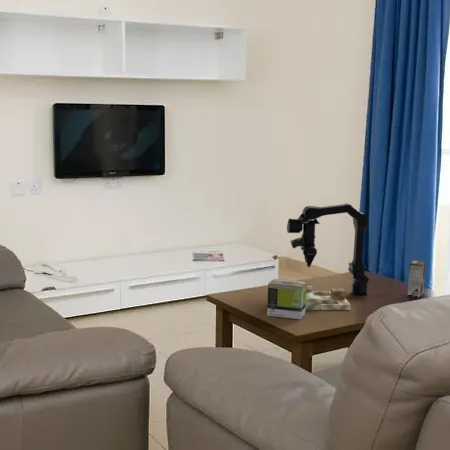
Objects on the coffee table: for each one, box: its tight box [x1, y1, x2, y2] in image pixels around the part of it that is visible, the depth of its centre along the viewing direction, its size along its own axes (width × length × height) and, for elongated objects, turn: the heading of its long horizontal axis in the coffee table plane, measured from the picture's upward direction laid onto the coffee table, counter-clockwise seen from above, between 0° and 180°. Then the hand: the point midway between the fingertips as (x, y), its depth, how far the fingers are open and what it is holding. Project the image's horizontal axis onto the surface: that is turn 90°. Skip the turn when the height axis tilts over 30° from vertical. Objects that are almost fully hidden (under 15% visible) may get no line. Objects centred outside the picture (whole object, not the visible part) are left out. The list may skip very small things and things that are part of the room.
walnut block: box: [330, 287, 346, 300], centre depth 339 cm, size 6×6×4 cm
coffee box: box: [407, 259, 427, 298], centre depth 358 cm, size 9×6×16 cm
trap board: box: [305, 285, 352, 311], centre depth 339 cm, size 21×22×5 cm
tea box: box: [266, 278, 307, 320], centre depth 318 cm, size 15×10×15 cm, turn 71°
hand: (307, 264), depth 352 cm, fingers open, 9 cm apart
